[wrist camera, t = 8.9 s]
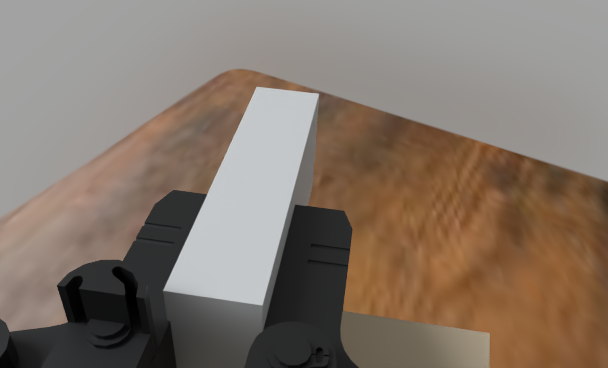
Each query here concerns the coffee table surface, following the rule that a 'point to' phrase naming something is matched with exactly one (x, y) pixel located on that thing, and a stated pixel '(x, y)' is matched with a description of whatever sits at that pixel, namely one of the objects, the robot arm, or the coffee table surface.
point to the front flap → (411, 344)
